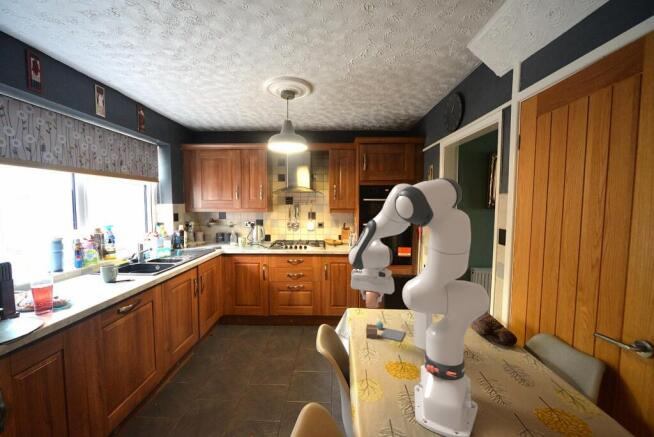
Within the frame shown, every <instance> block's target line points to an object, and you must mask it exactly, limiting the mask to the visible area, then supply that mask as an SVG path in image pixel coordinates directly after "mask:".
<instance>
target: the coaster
mask: <svg viewBox="0 0 654 437" xmlns="http://www.w3.org/2000/svg"><path fill="white" fill-rule="evenodd" d="M405 335H406V331H403V330H397V329H393V328H392V329H391V328H387V327H385V328H384V330H383V332H381V334H380V336H379V337H380V338H381V339H387V340H390V341H395V342H399V343H400V342H402V340H403V338H404V336H405Z"/></svg>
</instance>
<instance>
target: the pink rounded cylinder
mask: <svg viewBox="0 0 654 437" xmlns="http://www.w3.org/2000/svg"><path fill="white" fill-rule="evenodd" d="M365 295H366V300H365V306H366V308H368V309H379V302H377V298H378V297H379V292H372V291H365Z"/></svg>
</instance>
